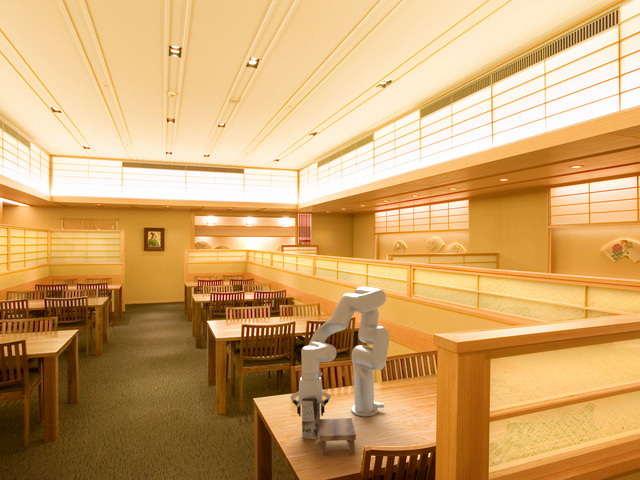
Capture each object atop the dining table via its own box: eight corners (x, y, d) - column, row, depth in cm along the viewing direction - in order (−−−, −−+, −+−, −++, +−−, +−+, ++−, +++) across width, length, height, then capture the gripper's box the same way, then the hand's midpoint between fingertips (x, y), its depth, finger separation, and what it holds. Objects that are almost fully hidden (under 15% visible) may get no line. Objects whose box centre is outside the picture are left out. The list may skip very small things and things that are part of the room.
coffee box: (316, 439, 164) (315, 401, 164) (301, 438, 166) (301, 400, 165) (321, 429, 173) (320, 392, 173) (306, 428, 175) (306, 391, 174)
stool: (351, 436, 166) (351, 418, 166) (356, 455, 152) (355, 434, 152) (318, 438, 166) (318, 419, 165) (320, 456, 152) (319, 436, 151)
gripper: (329, 371, 173) (330, 410, 173) (290, 372, 173) (291, 411, 173) (330, 377, 166) (331, 418, 166) (290, 378, 165) (290, 419, 165)
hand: (310, 414), depth 169 cm, fingers open, 9 cm apart
